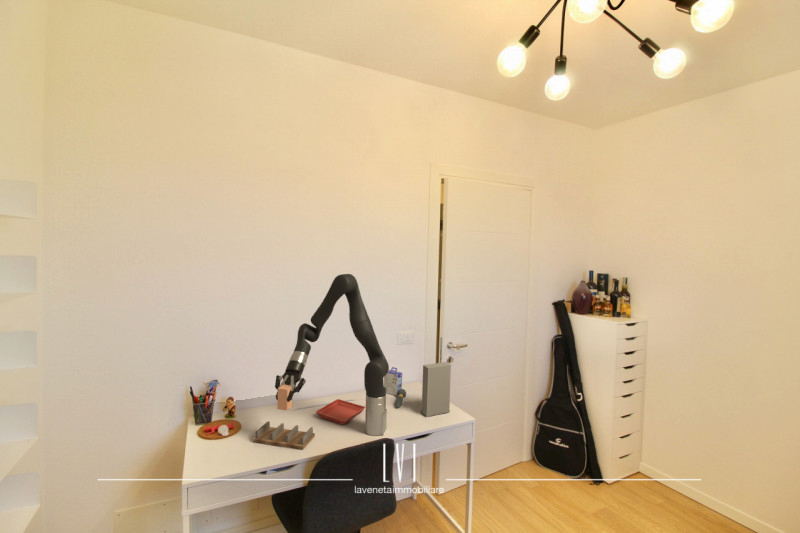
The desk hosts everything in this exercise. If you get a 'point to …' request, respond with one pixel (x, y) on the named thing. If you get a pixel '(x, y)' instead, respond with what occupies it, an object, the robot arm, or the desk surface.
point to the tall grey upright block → (436, 389)
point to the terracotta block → (284, 397)
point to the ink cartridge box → (393, 381)
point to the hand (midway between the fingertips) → (282, 400)
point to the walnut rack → (283, 436)
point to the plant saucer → (340, 411)
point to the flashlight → (400, 397)
